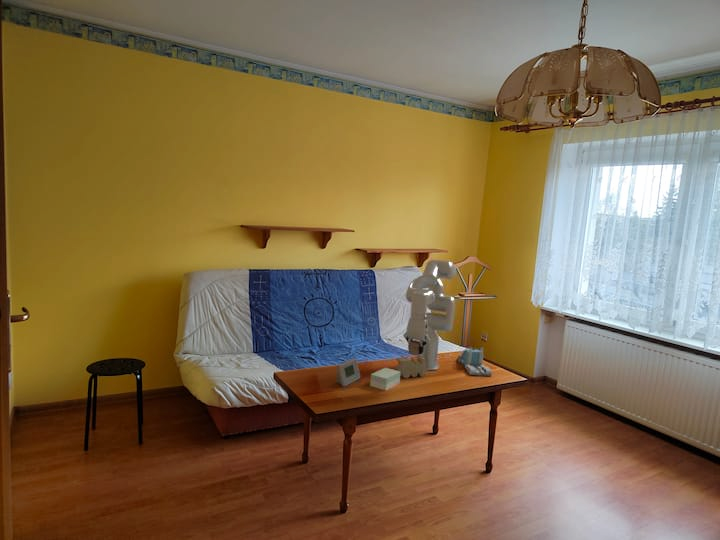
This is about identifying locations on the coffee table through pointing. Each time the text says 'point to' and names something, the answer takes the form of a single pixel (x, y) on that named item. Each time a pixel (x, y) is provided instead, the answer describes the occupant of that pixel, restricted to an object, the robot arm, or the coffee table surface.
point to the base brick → (385, 378)
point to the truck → (474, 362)
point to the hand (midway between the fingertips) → (415, 352)
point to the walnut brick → (414, 347)
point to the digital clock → (348, 372)
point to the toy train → (412, 366)
